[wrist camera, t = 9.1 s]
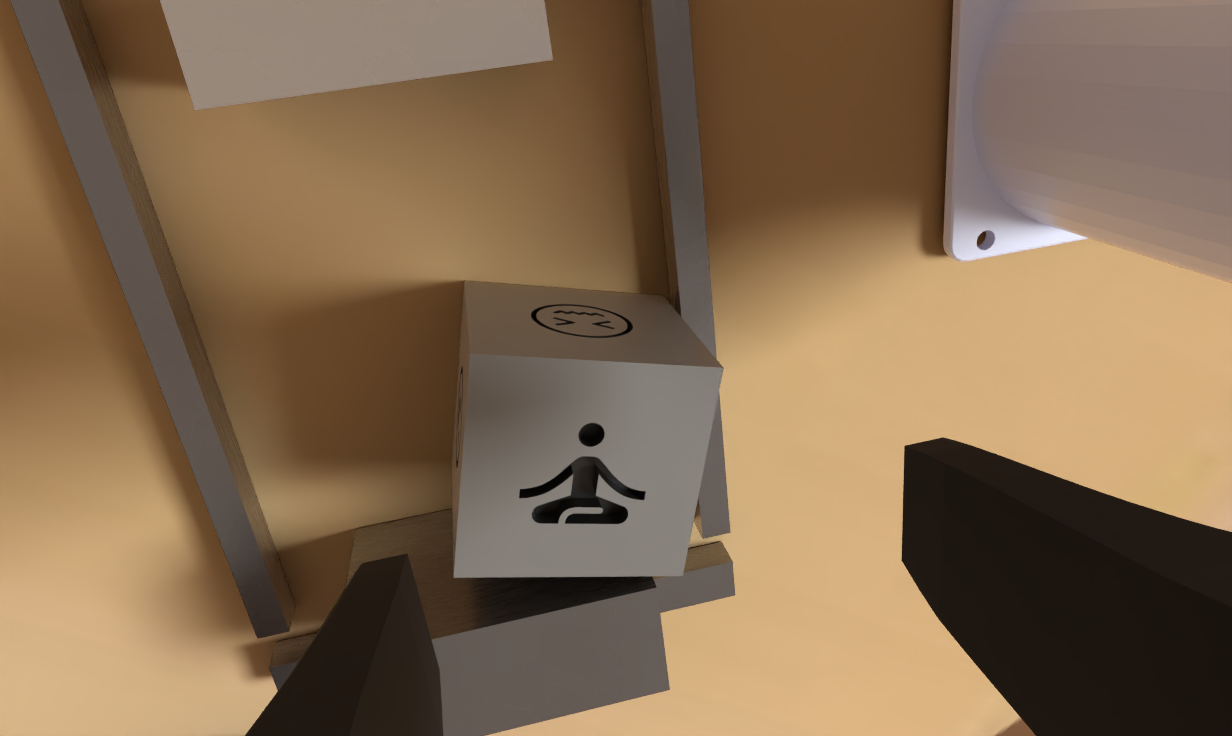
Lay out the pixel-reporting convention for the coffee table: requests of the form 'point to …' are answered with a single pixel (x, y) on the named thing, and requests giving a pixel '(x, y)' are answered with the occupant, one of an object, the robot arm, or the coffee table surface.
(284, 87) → the l-shaped block holder
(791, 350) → the coffee table surface
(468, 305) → the grey marked cube
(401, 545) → the grey rail frame
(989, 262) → the coffee table surface
